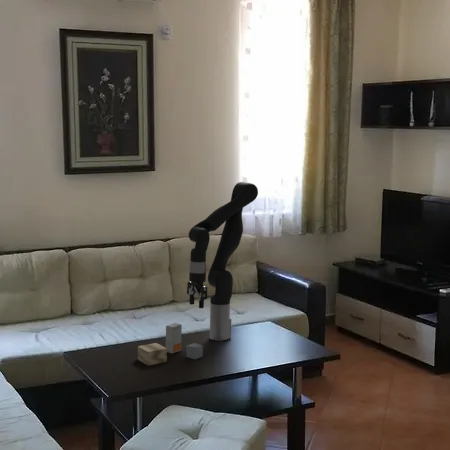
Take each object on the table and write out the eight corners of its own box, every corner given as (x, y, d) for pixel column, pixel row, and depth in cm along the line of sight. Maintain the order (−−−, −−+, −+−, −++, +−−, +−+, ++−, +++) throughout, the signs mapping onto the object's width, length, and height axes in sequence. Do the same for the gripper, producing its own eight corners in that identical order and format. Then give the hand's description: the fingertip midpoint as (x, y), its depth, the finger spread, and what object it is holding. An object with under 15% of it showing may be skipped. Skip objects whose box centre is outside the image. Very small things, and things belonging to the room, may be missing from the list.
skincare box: (172, 353, 301) (172, 327, 299) (165, 351, 304) (165, 325, 302) (181, 350, 306) (182, 324, 304) (174, 348, 308) (174, 322, 307)
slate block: (194, 354, 302) (194, 343, 301) (202, 356, 298) (202, 345, 298) (186, 356, 298) (186, 345, 297) (194, 359, 295) (194, 348, 294)
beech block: (156, 356, 298) (156, 342, 297) (166, 362, 291) (166, 348, 290) (137, 359, 293) (137, 346, 292) (147, 365, 286) (147, 352, 285)
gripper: (212, 273, 309) (211, 308, 310) (196, 268, 321) (195, 302, 322) (198, 274, 305) (197, 310, 306) (182, 269, 317) (181, 303, 318)
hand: (196, 306), depth 314 cm, fingers open, 8 cm apart
